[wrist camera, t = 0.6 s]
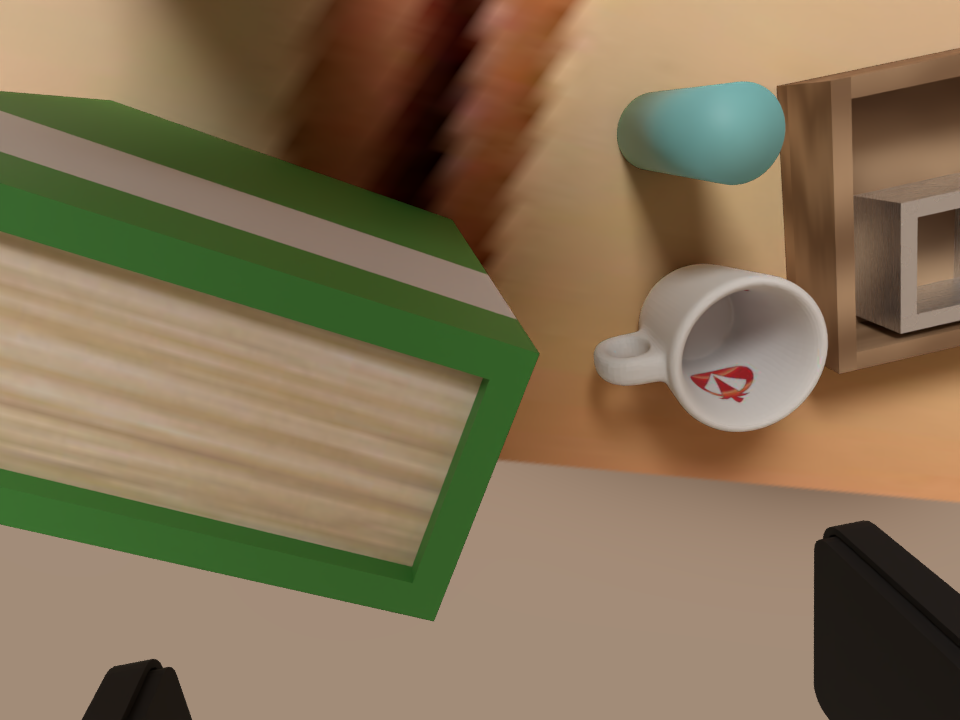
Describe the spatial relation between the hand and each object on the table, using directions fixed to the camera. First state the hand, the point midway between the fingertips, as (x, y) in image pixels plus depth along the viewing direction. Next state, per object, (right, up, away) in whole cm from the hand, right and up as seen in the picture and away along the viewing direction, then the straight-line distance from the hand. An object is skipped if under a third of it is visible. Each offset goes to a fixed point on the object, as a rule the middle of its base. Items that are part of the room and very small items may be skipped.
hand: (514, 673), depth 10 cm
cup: (+10, +7, +32) cm, 34 cm away
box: (+24, +14, +31) cm, 42 cm away
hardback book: (-12, +11, +28) cm, 32 cm away
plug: (+9, +17, +28) cm, 34 cm away
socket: (+24, +11, +32) cm, 42 cm away
